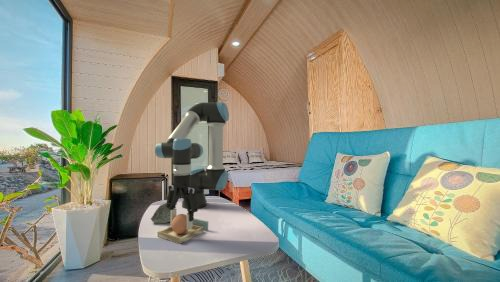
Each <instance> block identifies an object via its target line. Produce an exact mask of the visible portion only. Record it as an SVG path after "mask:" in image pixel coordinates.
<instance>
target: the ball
mask: <svg viewBox="0 0 500 282" xmlns="http://www.w3.org/2000/svg"><path fill="white" fill-rule="evenodd" d="M170 226H172V229H173V231H174V232H175V233H178V234H183V233H185V232H187V231H188V230H189V229H188V230H187V214H184V213H180V214H178V215H177V214H176V217H174V219H173V220H172V224H171V225H170Z"/></svg>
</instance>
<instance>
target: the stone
mask: <svg viewBox="0 0 500 282" xmlns="http://www.w3.org/2000/svg"><path fill="white" fill-rule="evenodd" d="M166 204H167V202H165V203H162V204H160V205H159V206H158V207H157V208H156V210H155V211H154V213H153V215H152V216H151V218H150V220H151V222H152V223H153V224H167V223H170V210H169V208H167V207H166Z"/></svg>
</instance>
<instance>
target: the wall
mask: <svg viewBox="0 0 500 282" xmlns="http://www.w3.org/2000/svg"><path fill="white" fill-rule="evenodd" d="M193 225H196V226H200V227H204V228H203V232H204V231H205V232H207V231H209V221H208V220H203V219H198V218H195V217H194V220H193Z"/></svg>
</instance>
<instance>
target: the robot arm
mask: <svg viewBox="0 0 500 282" xmlns="http://www.w3.org/2000/svg"><path fill="white" fill-rule="evenodd" d="M229 119H230V112H229V108H228V106H227V104H226V102H221V101H211V102H199V103H196V104H194V105H193V106H191V107H190V108H189V109H188V110H187V111H186V112H185V113H184V117H183V119H181V121H180V123H179V124H178V125H177V126H176V127H175V129H174V130H173V131H172V133H171V134H170V135H169V137H168V138H167V139H166V140H165V141H164V142H158V143H157V144H155V147H154V153H155V156H156V157H157V158H160V159H172V174H173V175H172V185H169V186H168V192H167V193H168V194H167V199H166V203H167V204H166V207H167V208H169V210H170V222H169V225H170V226H171V224H172V220H173V219H174V217H176V216H177V207H176V206H177V204H178V201H179V199H180V197H181V198H182V202H181V208H184V209H186V210H187V213H186V215H187V230H188V229H190V228H192V225H193V220H194V218H195V215H194V214H195V213H196V212H198V211H199V209H200V208H201V209H202V208H205V207H206V206H207V205H208V202H207V198H206V195H205V190H212V191H223V190H225V189H226V187H227V184H228V182H229V181H228V179H229V172H228V171H227V170H226V167H225V166H224V164H223V163H224V158H223V157H224V127H225V126H226V124H227V122H228V121H229ZM201 122H206V125H207V126H208V127H209V129H208V134H209V135H208V166H207V167H206V168H204V167H198V168H192V159H193V160H195V159H199V158H200V157H202V155H203V153H204V148H203V146H202V145H201V144H200V143H197V142H192V140H191V138H187V137H188V136H189V135H190V133H191V132H192V130H193V129H194V127H195V126H196V125H198V124H200V123H201Z"/></svg>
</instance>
